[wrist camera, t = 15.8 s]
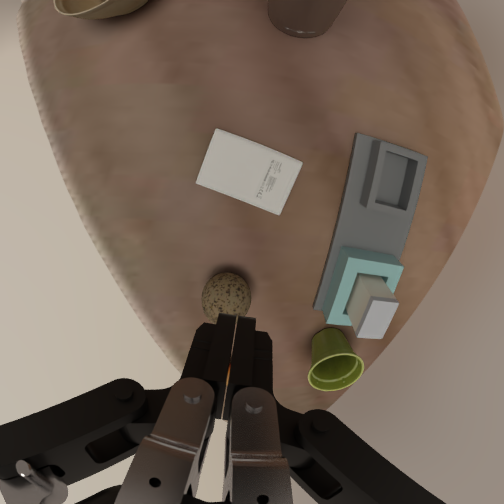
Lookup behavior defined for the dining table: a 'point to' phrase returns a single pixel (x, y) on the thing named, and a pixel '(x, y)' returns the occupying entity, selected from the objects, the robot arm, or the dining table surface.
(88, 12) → the planter bowl
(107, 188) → the dining table surface
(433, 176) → the dining table surface
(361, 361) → the plant pot
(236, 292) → the decorative egg
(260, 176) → the external hard drive
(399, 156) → the panel
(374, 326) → the plug
